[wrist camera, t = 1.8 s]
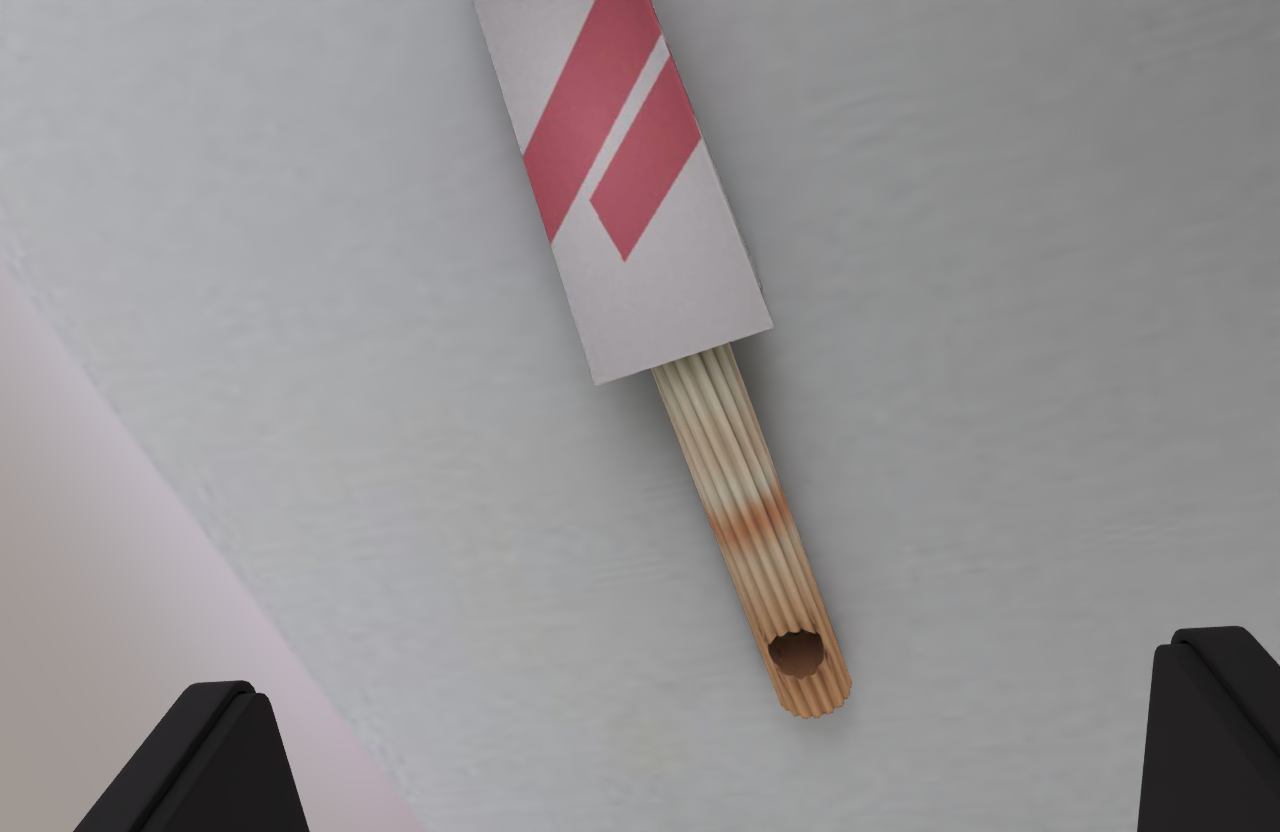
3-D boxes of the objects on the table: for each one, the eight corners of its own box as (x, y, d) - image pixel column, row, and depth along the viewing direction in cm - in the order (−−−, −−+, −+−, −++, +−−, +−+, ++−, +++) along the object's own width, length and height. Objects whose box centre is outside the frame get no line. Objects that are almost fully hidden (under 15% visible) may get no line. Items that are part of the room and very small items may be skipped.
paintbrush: (599, -221, 15) (897, 714, 23) (611, -196, 18) (877, 642, 26) (381, -127, 16) (741, 751, 24) (423, -114, 19) (736, 677, 26)
